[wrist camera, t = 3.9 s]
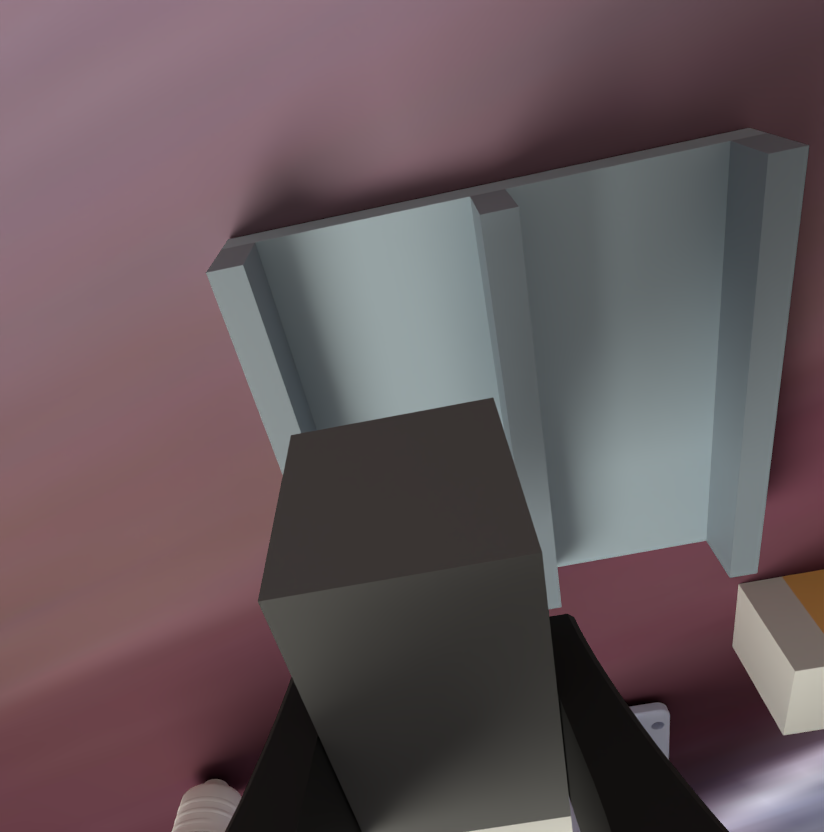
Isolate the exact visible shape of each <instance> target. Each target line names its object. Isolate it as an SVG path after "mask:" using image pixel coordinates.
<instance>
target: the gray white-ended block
mask: <svg viewBox="0 0 824 832" xmlns="http://www.w3.org/2000/svg"><path fill="white" fill-rule="evenodd" d="M258 603H259V605H260V607H261V610H262V612H263V614H264V616H265V618H266V621H267V623H268V625H269V627H270V629H271V632H272V634H273V636H274V638H275V641H276V643H277V645H278V647H279V649H280V652H281V654H282V656H283V658H284V660H285V663H286V665H287V667H288V669H289V671H290V674H291V676H292V678H293V680H294V683H295V685H296V687H297V689H298V691H299V694H300V696H301V698H302V700H303V702H304V705H305V707H306V709H307V711H308V713H309V716H310V718H311V720H312V722H313V725H314V727H315V729H316V731H317V733H318V736H319V738H320V740H321V742H322V744H323V747H324V749H325V751H326V753H327V755H328V758H329V760H330V762H331V764H332V767H333V769H334V771H335V773H336V775H337V778H338V780H339V782H340V784H341V786H342V789H343V791H344V793H345V795H346V797H347V800H348V802H349V804H350V806H351V809H352V811H353V813H354V815H355V817H356V820H357V822H358V824H359V826H360V828H361V831H362V832H573V829H572V820H571V811H570V802H569V793H568V784H567V775H566V765H565V756H564V747H563V738H562V729H561V720H560V710H559V701H558V692H557V683H556V674H555V665H554V656H553V646H552V637H551V628H550V619H549V610H548V601H547V591H546V582H545V573H544V564H543V555H542V550H541V547H540V544H539V541H538V537H537V534H536V531H535V528H534V525H533V522H532V518H531V515H530V512H529V509H528V506H527V503H526V499H525V496H524V493H523V490H522V487H521V484H520V480H519V477H518V474H517V471H516V468H515V464H514V461H513V458H512V455H511V452H510V449H509V445H508V442H507V439H506V436H505V433H504V430H503V426H502V423H501V420H500V417H499V414H498V410H497V407H496V404H495V401H494V398H488V399H482V400H477V401H471V402H466V403H461V404H455V405H450V406H445V407H439V408H434V409H429V410H423V411H418V412H413V413H407V414H402V415H396V416H391V417H386V418H380V419H375V420H370V421H364V422H359V423H354V424H348V425H343V426H338V427H332V428H327V429H321V430H316V431H311V432H305V433H300V434H295V435H291V437H290V442H289V447H288V452H287V457H286V462H285V468H284V473H283V478H282V483H281V488H280V493H279V498H278V503H277V508H276V513H275V518H274V523H273V528H272V533H271V538H270V543H269V548H268V553H267V558H266V563H265V568H264V573H263V578H262V583H261V589H260V594H259V599H258Z"/></svg>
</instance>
